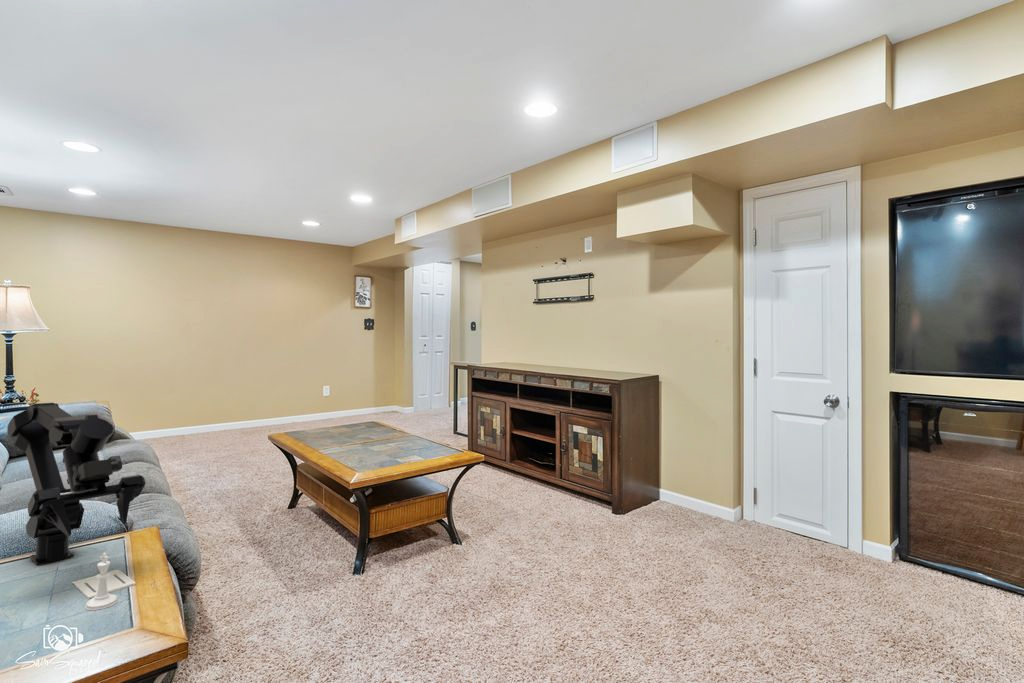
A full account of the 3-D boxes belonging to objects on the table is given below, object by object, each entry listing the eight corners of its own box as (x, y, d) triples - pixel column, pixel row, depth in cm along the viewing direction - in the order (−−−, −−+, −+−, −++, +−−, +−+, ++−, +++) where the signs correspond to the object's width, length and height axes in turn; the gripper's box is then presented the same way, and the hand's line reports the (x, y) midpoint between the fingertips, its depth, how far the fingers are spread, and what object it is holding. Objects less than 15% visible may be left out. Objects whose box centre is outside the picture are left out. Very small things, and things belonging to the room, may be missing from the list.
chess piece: (99, 612, 96) (102, 560, 96) (78, 608, 97) (81, 556, 97) (123, 599, 100) (126, 550, 101) (103, 596, 101) (106, 547, 102)
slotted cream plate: (72, 583, 106) (72, 581, 106) (118, 571, 112) (118, 569, 112) (88, 599, 100) (88, 597, 100) (135, 584, 107) (135, 582, 107)
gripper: (35, 451, 99) (48, 519, 93) (144, 439, 115) (162, 497, 108) (22, 483, 104) (33, 550, 97) (129, 467, 119) (145, 525, 113)
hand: (98, 528), depth 104 cm, fingers open, 9 cm apart
